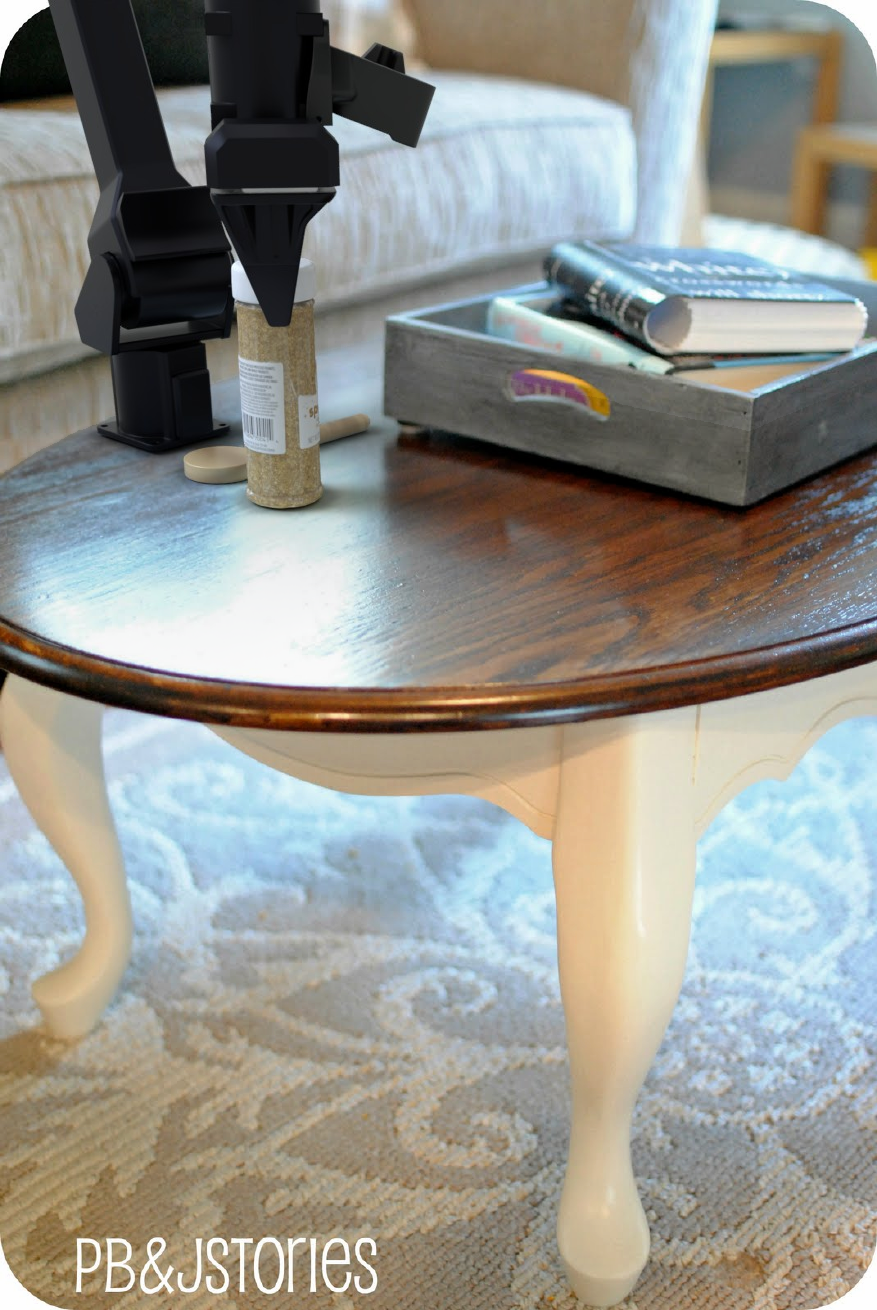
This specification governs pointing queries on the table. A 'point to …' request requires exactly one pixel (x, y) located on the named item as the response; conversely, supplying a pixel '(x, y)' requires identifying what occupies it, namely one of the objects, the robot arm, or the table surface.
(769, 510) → the table surface
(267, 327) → the sprinkles bottle
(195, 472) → the wooden spoon
